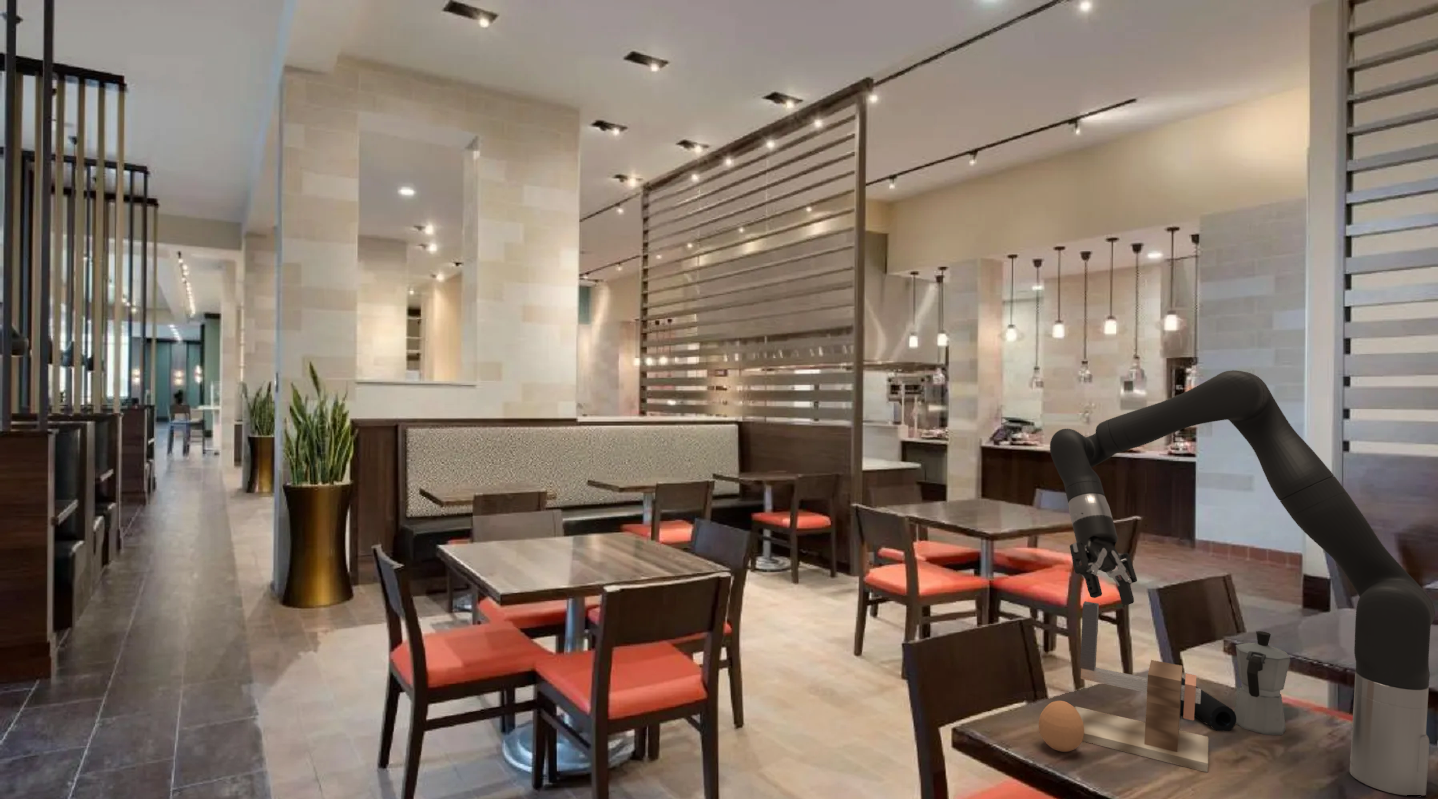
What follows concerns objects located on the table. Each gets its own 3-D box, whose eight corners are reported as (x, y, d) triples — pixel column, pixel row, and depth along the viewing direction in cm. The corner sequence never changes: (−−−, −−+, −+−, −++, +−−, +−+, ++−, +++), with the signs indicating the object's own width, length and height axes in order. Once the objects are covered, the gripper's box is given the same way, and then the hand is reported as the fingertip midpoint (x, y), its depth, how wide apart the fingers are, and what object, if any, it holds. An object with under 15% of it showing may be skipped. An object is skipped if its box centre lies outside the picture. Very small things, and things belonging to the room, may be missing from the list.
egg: (1079, 764, 133) (1082, 714, 133) (1033, 751, 137) (1036, 703, 137) (1086, 747, 140) (1088, 700, 139) (1041, 736, 144) (1043, 690, 143)
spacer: (1194, 708, 141) (1196, 675, 140) (1194, 720, 135) (1195, 686, 135) (1184, 706, 141) (1185, 673, 141) (1183, 718, 136) (1184, 683, 136)
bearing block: (1207, 745, 142) (1211, 668, 142) (1207, 772, 132) (1211, 690, 131) (1075, 713, 154) (1078, 643, 153) (1065, 736, 144) (1069, 661, 143)
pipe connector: (1177, 703, 148) (1133, 672, 163) (1175, 731, 148) (1131, 698, 163) (1237, 706, 148) (1188, 675, 163) (1235, 733, 148) (1186, 700, 163)
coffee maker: (1239, 708, 159) (1244, 620, 158) (1292, 723, 153) (1298, 631, 152) (1220, 730, 148) (1225, 635, 148) (1276, 747, 142) (1282, 648, 142)
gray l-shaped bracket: (1200, 699, 139) (1204, 620, 138) (1200, 704, 136) (1204, 624, 136) (1081, 674, 149) (1084, 601, 148) (1079, 678, 147) (1083, 604, 146)
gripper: (1081, 507, 153) (1102, 588, 144) (1132, 521, 158) (1155, 600, 149) (1051, 521, 158) (1069, 600, 150) (1102, 534, 164) (1122, 611, 155)
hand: (1112, 600), depth 149 cm, fingers open, 8 cm apart
